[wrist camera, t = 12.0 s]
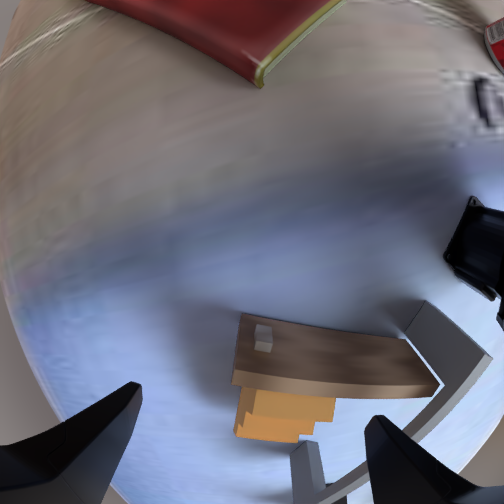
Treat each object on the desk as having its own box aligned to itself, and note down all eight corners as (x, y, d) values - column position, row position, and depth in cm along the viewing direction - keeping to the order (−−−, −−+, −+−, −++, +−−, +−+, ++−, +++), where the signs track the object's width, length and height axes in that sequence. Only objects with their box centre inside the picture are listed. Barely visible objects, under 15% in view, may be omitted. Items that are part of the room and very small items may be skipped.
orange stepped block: (258, 382, 15) (244, 453, 13) (336, 392, 15) (325, 458, 13) (242, 384, 23) (233, 430, 20) (295, 392, 23) (288, 437, 21)
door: (408, 332, 21) (445, 376, 14) (399, 350, 21) (432, 396, 15) (243, 305, 20) (237, 359, 14) (238, 326, 21) (230, 384, 14)
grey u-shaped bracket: (425, 300, 20) (485, 353, 12) (435, 306, 20) (493, 358, 12) (289, 454, 26) (294, 515, 17) (300, 456, 26) (307, 515, 17)
